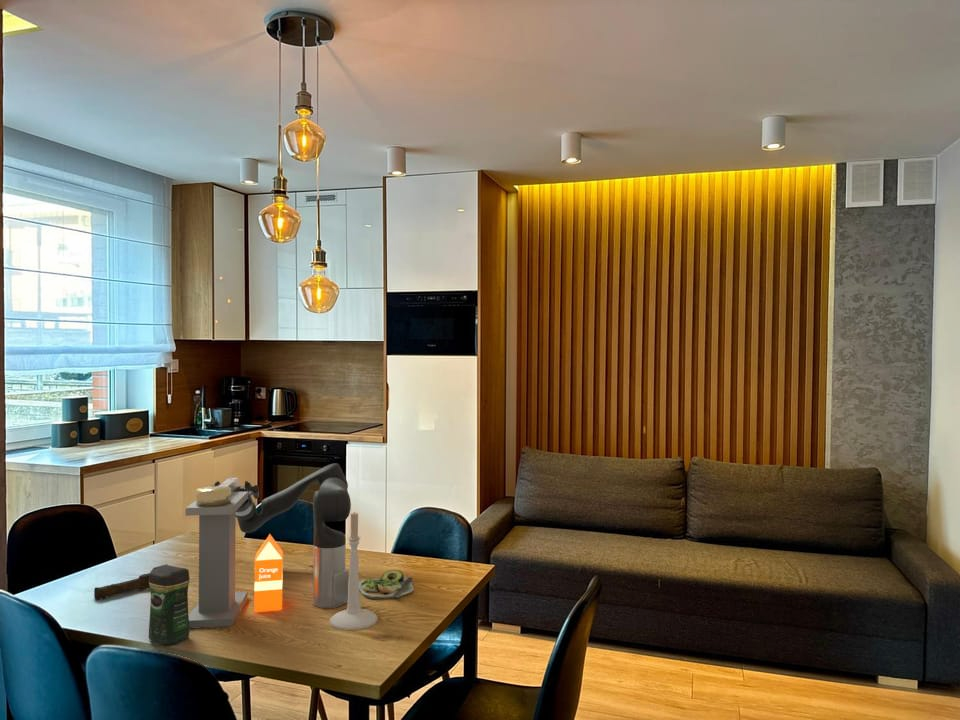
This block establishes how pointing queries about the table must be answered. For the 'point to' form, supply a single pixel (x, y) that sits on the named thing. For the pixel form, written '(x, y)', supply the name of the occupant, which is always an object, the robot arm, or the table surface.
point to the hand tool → (122, 587)
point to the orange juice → (268, 577)
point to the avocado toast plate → (387, 585)
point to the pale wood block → (216, 494)
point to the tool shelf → (217, 565)
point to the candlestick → (353, 591)
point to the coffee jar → (169, 604)
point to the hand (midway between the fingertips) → (231, 484)
